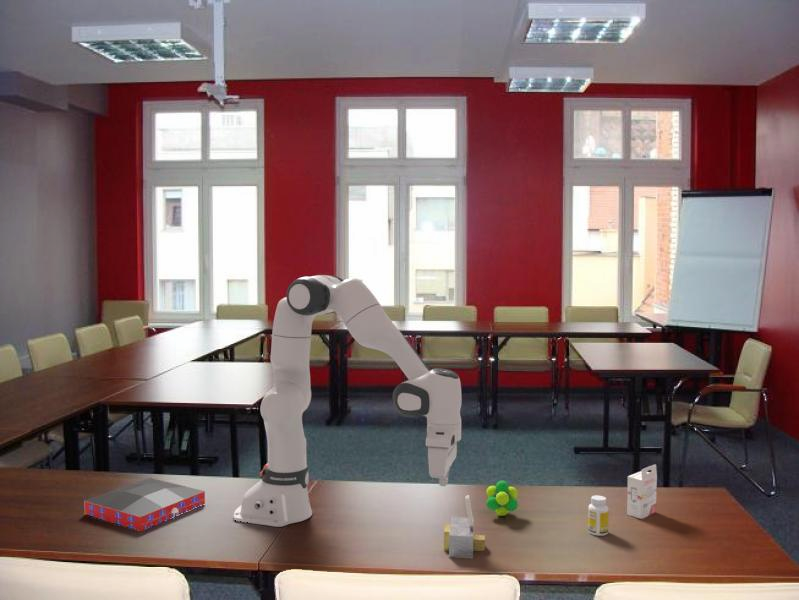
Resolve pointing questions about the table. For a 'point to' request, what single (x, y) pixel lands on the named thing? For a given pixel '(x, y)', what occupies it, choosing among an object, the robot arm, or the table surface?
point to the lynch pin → (477, 540)
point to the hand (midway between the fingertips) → (443, 484)
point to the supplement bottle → (598, 516)
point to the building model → (144, 503)
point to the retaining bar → (469, 511)
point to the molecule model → (502, 498)
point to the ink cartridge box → (642, 493)
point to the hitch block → (460, 538)
